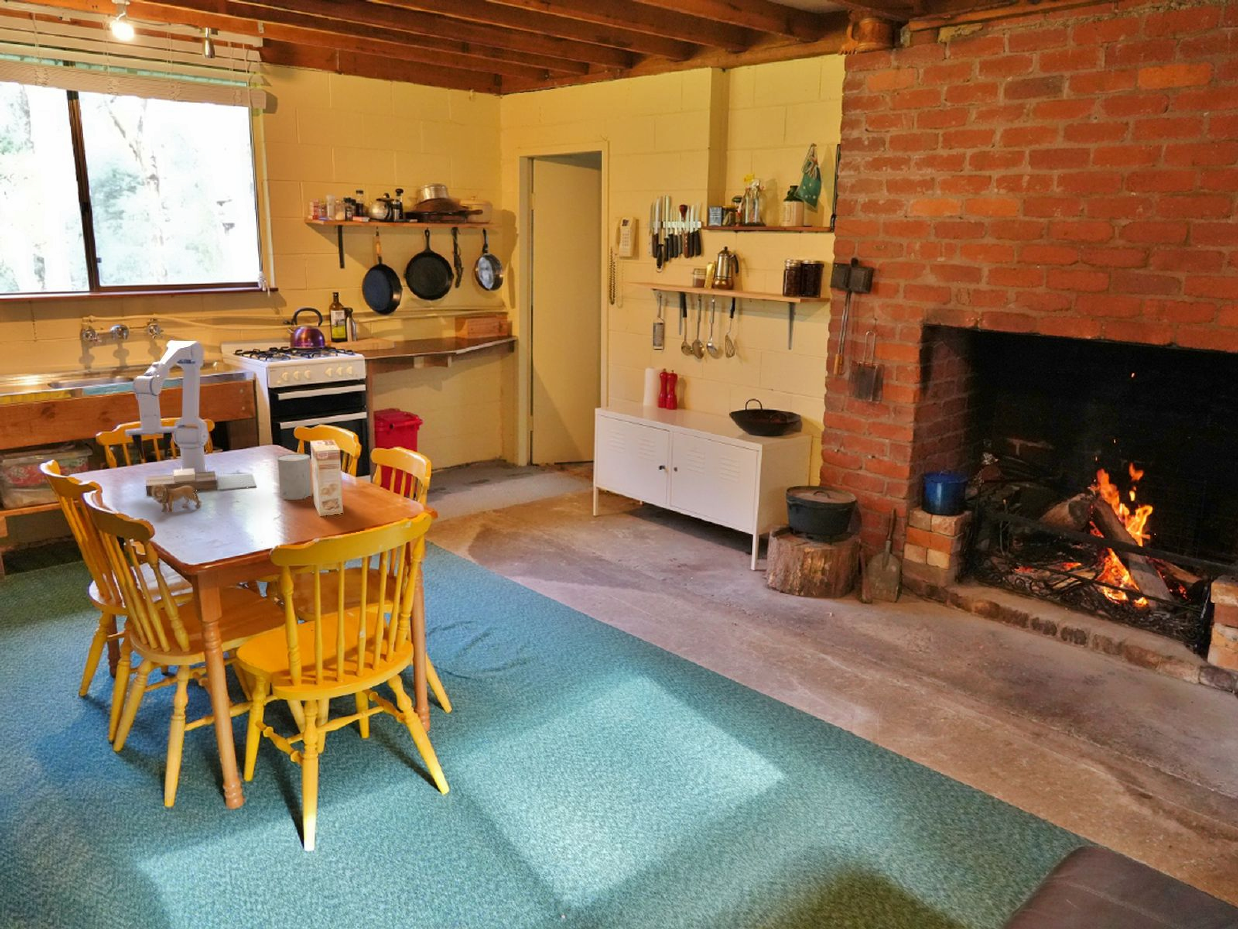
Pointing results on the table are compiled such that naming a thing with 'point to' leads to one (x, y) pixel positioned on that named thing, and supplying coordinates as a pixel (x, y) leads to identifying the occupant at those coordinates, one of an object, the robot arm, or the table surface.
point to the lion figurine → (173, 495)
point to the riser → (200, 483)
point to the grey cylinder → (294, 476)
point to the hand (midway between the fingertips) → (154, 457)
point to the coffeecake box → (326, 477)
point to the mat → (235, 482)
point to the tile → (184, 475)
